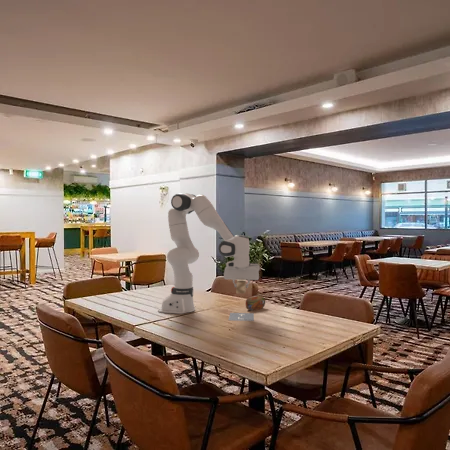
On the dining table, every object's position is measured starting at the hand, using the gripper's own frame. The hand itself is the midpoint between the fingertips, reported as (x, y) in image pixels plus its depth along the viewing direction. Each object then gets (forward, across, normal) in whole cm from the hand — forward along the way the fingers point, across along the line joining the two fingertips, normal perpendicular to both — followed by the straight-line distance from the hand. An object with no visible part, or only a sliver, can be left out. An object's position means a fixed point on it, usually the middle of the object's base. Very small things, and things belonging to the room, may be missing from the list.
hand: (241, 287), depth 231 cm
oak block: (+2, 0, 0) cm, 2 cm away
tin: (+17, -8, -20) cm, 28 cm away
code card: (+17, 0, 0) cm, 17 cm away
